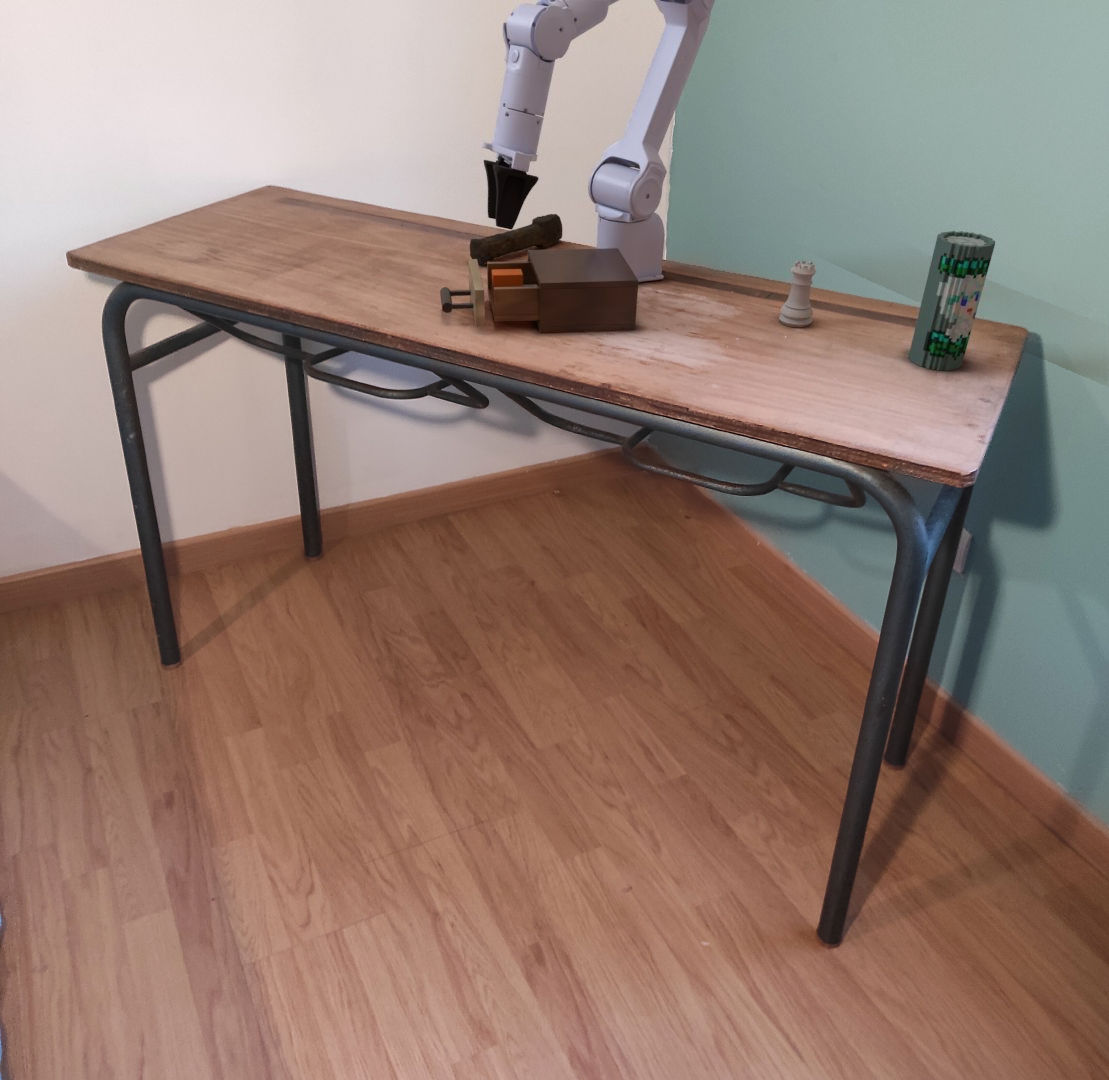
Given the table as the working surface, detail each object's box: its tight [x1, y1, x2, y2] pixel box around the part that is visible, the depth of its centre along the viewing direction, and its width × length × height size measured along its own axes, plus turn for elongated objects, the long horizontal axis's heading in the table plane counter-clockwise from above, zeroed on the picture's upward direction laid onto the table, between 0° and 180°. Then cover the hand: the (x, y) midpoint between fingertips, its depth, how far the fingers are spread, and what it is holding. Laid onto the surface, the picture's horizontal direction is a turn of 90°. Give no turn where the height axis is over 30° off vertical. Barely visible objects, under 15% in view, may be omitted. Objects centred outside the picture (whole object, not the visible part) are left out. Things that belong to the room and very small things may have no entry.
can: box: [907, 230, 996, 372], centre depth 115 cm, size 6×6×15 cm
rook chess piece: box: [778, 259, 817, 328], centre depth 127 cm, size 4×4×8 cm
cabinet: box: [527, 248, 640, 334], centre depth 129 cm, size 13×14×7 cm
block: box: [492, 269, 538, 298], centre depth 129 cm, size 6×2×3 cm, turn 98°
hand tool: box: [469, 213, 563, 266], centre depth 151 cm, size 19×4×5 cm, turn 134°
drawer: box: [439, 258, 540, 327], centre depth 127 cm, size 16×12×5 cm
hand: (499, 223), depth 125 cm, fingers open, 7 cm apart
